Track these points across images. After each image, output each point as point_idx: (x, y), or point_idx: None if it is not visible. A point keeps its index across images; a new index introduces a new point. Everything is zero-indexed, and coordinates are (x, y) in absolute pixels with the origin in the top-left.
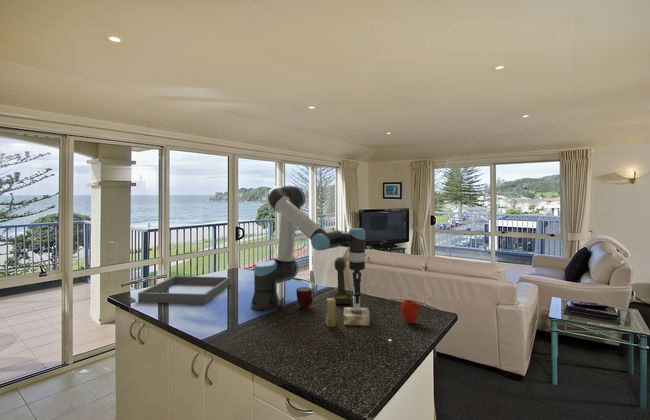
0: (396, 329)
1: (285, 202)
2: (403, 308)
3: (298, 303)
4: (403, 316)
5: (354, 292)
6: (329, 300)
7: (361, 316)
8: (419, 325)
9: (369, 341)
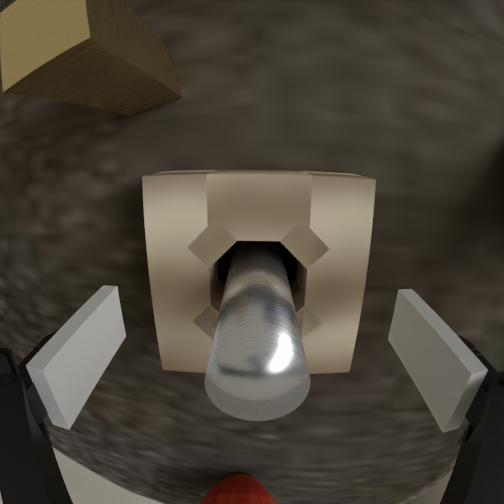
0: (157, 431)
1: None
2: None
3: None
4: (228, 486)
5: (434, 347)
6: (5, 25)
7: (158, 318)
8: None
9: (11, 304)
